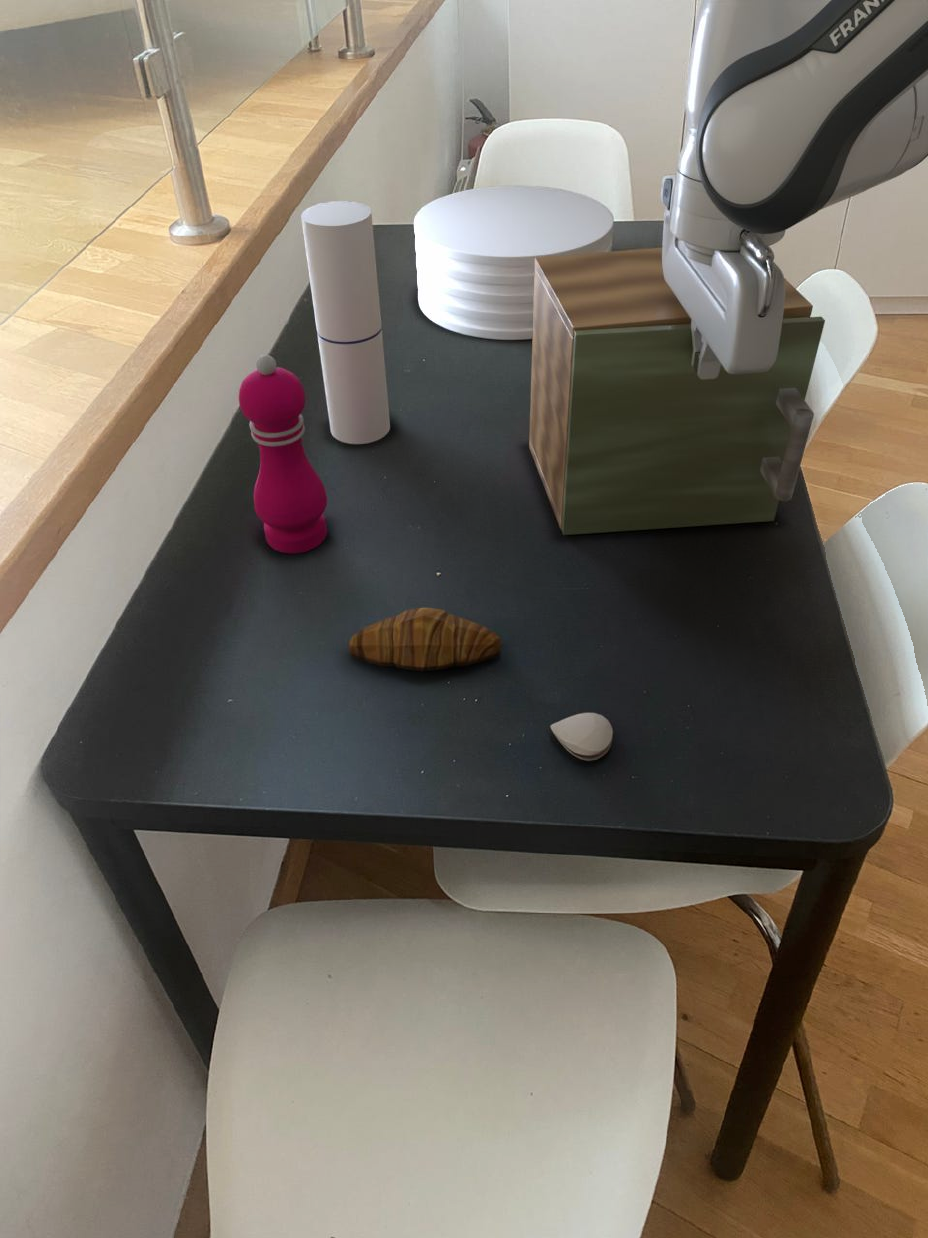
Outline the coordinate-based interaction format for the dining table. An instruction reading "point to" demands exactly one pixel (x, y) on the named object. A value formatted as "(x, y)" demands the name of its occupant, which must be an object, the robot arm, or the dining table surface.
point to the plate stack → (499, 253)
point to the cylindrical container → (348, 318)
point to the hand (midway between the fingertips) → (704, 373)
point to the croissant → (425, 641)
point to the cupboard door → (681, 431)
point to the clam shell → (584, 735)
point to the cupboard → (591, 300)
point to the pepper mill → (283, 460)
